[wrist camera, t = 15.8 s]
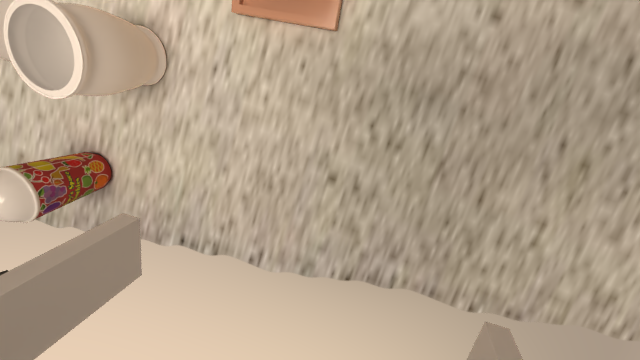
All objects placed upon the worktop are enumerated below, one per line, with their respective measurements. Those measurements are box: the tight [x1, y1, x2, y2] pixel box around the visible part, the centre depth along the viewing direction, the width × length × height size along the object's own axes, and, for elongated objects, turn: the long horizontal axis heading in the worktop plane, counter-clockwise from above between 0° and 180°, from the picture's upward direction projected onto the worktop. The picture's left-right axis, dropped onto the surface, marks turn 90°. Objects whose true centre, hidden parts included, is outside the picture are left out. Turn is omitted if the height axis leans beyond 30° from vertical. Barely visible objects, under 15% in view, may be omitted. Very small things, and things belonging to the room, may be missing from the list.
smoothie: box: [0, 152, 111, 223], centre depth 48 cm, size 8×8×20 cm
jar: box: [3, 0, 166, 99], centre depth 41 cm, size 11×10×15 cm
